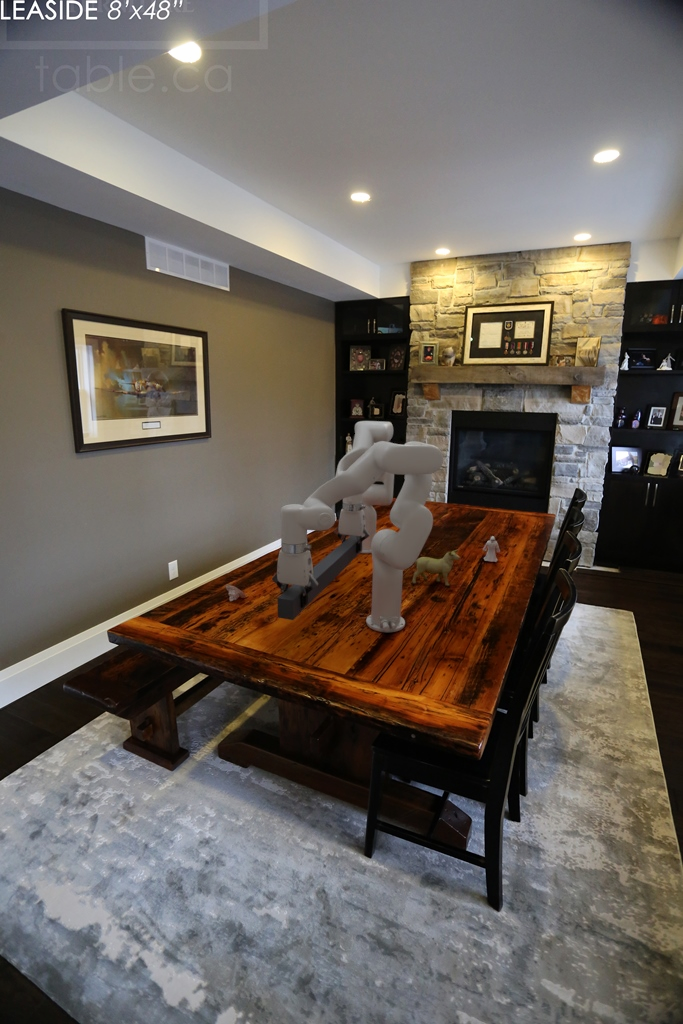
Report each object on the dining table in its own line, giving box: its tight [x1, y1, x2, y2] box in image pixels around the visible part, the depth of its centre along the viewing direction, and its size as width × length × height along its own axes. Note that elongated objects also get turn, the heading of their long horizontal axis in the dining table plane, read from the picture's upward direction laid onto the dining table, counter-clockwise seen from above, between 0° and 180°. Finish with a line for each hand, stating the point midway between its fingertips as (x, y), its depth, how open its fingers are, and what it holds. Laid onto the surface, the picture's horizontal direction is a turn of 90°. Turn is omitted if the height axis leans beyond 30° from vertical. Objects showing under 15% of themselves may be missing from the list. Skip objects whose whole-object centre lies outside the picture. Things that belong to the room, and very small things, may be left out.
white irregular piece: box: [224, 584, 247, 602], centre depth 178 cm, size 8×5×8 cm
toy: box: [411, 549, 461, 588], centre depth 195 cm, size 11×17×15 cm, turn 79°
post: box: [276, 535, 362, 621], centre depth 174 cm, size 68×5×6 cm, turn 161°
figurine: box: [482, 535, 501, 563], centre depth 223 cm, size 8×8×12 cm
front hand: (295, 604), depth 150 cm, fingers closed on post, 4 cm apart
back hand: (351, 550), depth 199 cm, fingers closed on post, 5 cm apart
